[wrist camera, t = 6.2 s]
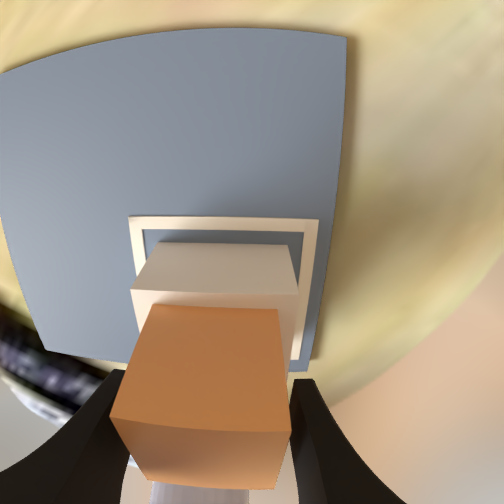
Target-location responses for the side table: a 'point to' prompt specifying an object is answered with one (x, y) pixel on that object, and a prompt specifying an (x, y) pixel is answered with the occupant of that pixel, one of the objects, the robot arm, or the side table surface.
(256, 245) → the base block
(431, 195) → the side table surface
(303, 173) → the board
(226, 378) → the orange block
